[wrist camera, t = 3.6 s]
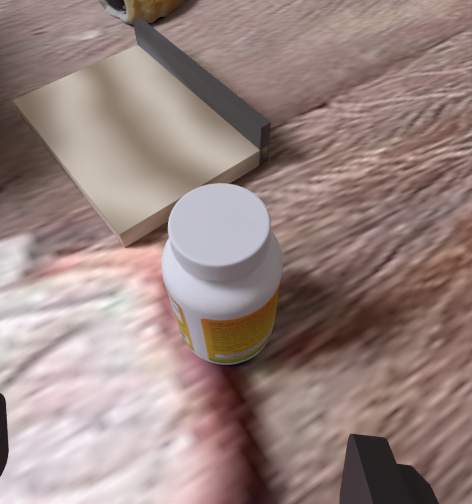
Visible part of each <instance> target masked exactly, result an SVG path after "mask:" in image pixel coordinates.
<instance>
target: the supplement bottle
mask: <svg viewBox="0 0 472 504" xmlns="http://www.w3.org/2000/svg"><path fill="white" fill-rule="evenodd" d="M168 233H169V239H168V241H167V243H166V245H165V248H164V251H163V255H162V274H163V279H164V283H165V286H166V289H167V292H168V295H169V298H170V301H171V305H172V308H173V310H174V313H175V316H176V320H177V323H178V326H179V329H180V332H181V334H182V337H183V339H184V341H185V342H186V344H187V345H188V347H189V348H190V349H191V350H192V351H193V352H194V353H195V354H196V355H197V356H199V357H200V358H202V359H204V360H206V361H208V362H211V363H215V364H222V365H231V364H238V363H241V362H244V361H246V360H249V359H251V358H252V357H254V356H255V355H256V354H258V353H259V352H260V351H261V350H262V349H263V348H264V346H265V345H266V344H267V342H268V341H269V339H270V336H271V334H272V331H273V328H274V323H275V316H276V309H277V303H278V296H279V290H280V284H281V277H282V268H283V258H282V252H281V248H280V245H279V243H278V240H277V238H276V237H275V235H274V234H273V232H272V231H271V220H270V215H269V212H268V210H267V208H266V206H265V204H264V203H263V202H262V200H261V199H260V198H259V197H258V196H256V195H255V194H254V193H253V192H251V191H249V190H247V189H245V188H243V187H240V186H237V185H233V184H225V183H216V184H208V185H204V186H201V187H198V188H196V189H194V190H192V191H190V192H188V193H187V194H185V195H184V196H183V197H182V198H181V199H180V200H179V201H178V202H177V203H176V204H175V206H174V208H173V209H172V211H171V214H170V217H169V221H168Z"/></svg>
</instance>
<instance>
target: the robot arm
mask: <svg viewBox="0 0 472 504" xmlns="http://www.w3.org/2000/svg"><path fill="white" fill-rule="evenodd" d="M8 452H9V448H8V431H7V414H6V401H5V398H4V396H3V395H2V394H1V393H0V476H1V475H2V473H3V471H4V468H5V466H6V463H7V459H8ZM340 504H439V503H438V500H437V498H436V496H435V494H434V492H433V490H432V488H431V486H430V484H429V483H428V482H427V481H426V480H425V479H424V478H423V477H422V476H421V475H420V474H419V473H418V472H417V471H416V470H415V469H414V468H413V467H412V466H410V465H402V464H397V463H396V461H395V458H394V456H393V453H392V451H391V448H390V446H389V443H388V441H387V439H386V438H384V437H375V436H367V435H358V434H350V436H349V438H348V443H347V449H346V456H345V463H344V470H343V476H342V483H341V490H340Z"/></svg>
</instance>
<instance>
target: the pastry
mask: <svg viewBox="0 0 472 504" xmlns="http://www.w3.org/2000/svg"><path fill="white" fill-rule="evenodd" d="M185 1H186V0H99V2H100V3H101V4H102V6H103V7H104V8H105V9H106V12H107V13H108V14H110V15H111V16H114V17H116V18H119V19H121V20H122V21H124V22H125V23H128V24H132V25H133V21H135V20H138V19H140V18H142V19H143V20H144V21H145V22H147V23H148V24H149V23H153V22H155V20H156V19H157V18H159V17H162V16H163V17H166V16H167V15H169V14H170V13H171V12H172V11H173V10H175V9H177V8H178V7H179V6H180V5H181V4H182V3H184V2H185Z"/></svg>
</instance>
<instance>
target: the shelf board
mask: <svg viewBox="0 0 472 504" xmlns="http://www.w3.org/2000/svg"><path fill="white" fill-rule="evenodd" d="M133 25H134V30H135V34H136V39H137V44H138V45H136V46H134V47H132V48H130V49H127V50H125V51H123V52H120V53H118V54H116V55H114V56H111V57H109V58H107V59H105V60H102V61H100V62H98V63H95V64H93V65H91V66H89V67H86V68H84V69H82V70H80V71H77V72H75V73H73V74H71V75H68V76H66V77H64V78H61V79H59V80H57V81H55V82H52V83H50V84H48V85H46V86H43V87H41V88H39V89H36V90H34V91H32V92H30V93H27V94H25V95H23V96H21V97H18V98H16V99H14V100H13V102H14V104H15V106H16V108H17V109H18V111H19V113H20V115H21V116H22V118H23V119H24V120H25V122H26V123H27V124H28V125H29V127H30V128H31V129H32V130H33V132H34V133H35V134H36V136H37V137H38V138H39V139H40V141H41V142H42V143H43V144H44V146H45V147H46V148H47V149H48V151H49V152H50V153H51V155H52V156H53V157H54V158H55V160H56V161H57V162H58V163H59V165H60V166H61V167H62V168H63V170H64V171H65V172H66V174H67V175H68V176H69V177H70V179H71V180H72V181H73V182H74V184H75V185H76V186H77V188H78V189H79V190H80V191H81V193H82V194H83V195H84V196H85V198H86V199H87V200H88V201H89V203H90V204H91V205H92V207H93V208H94V209H95V210H96V212H97V213H98V214H99V215H100V217H101V218H102V219H103V221H104V222H105V223H106V224H107V226H108V227H109V228H110V229H111V231H112V232H113V233H114V234H115V236H116V237H117V238H118V240H119V241H120V242H121V243H122V245H123V246H124V247H127V246H129V245H130V244H132V243H134V242H135V241H137V240H139V239H140V238H142V237H143V236H145V235H147V234H148V233H150V232H152V231H153V230H155V229H156V228H158V227H160V226H161V225H163V224H165V223H166V222H168V221H169V217H170V214H171V211H172V209H173V208H174V206H175V204H176V203H177V202H178V201H179V200H180V199H181V198H182V197H183V196H184V195H185V194H187V193H188V192H190V191H192V190H194V189H196V188H198V187H201V186H204V185H208V184H216V183H225V184H230V183H231V182H233V181H235V180H236V179H238V178H240V177H241V176H243V175H244V174H246V173H248V172H249V171H251V170H253V169H254V168H256V167H258V166H259V165H261V164H262V163H264V162H266V161H267V160H268V147H269V134H270V122H269V121H268V120H267V119H265V118H264V117H263V116H262V115H260V114H259V113H258V112H257V111H255V110H254V109H253V108H252V107H250V106H249V105H248V104H247V103H246V102H244V101H243V100H242V99H241V98H239V97H238V96H237V95H236V94H234V93H233V92H232V91H231V90H229V89H228V88H227V87H226V86H224V85H223V84H222V83H221V82H220V81H218V80H217V79H216V78H215V77H213V76H212V75H211V74H210V73H208V72H207V71H206V70H205V69H203V68H202V67H201V66H200V65H199V64H197V63H196V62H195V61H194V60H192V59H191V58H190V57H189V56H187V55H186V54H185V53H184V52H182V51H181V50H180V49H179V48H178V47H176V46H175V45H174V44H173V43H171V42H170V41H169V40H168V39H166V38H165V37H164V36H163V35H161V34H160V33H159V32H158V31H156V30H155V29H154V28H153V27H152V26H150V25H149V24H148V23H147V22H145V21H144V20H143V19H142V18H140V19H138V20H135V21H133Z"/></svg>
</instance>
